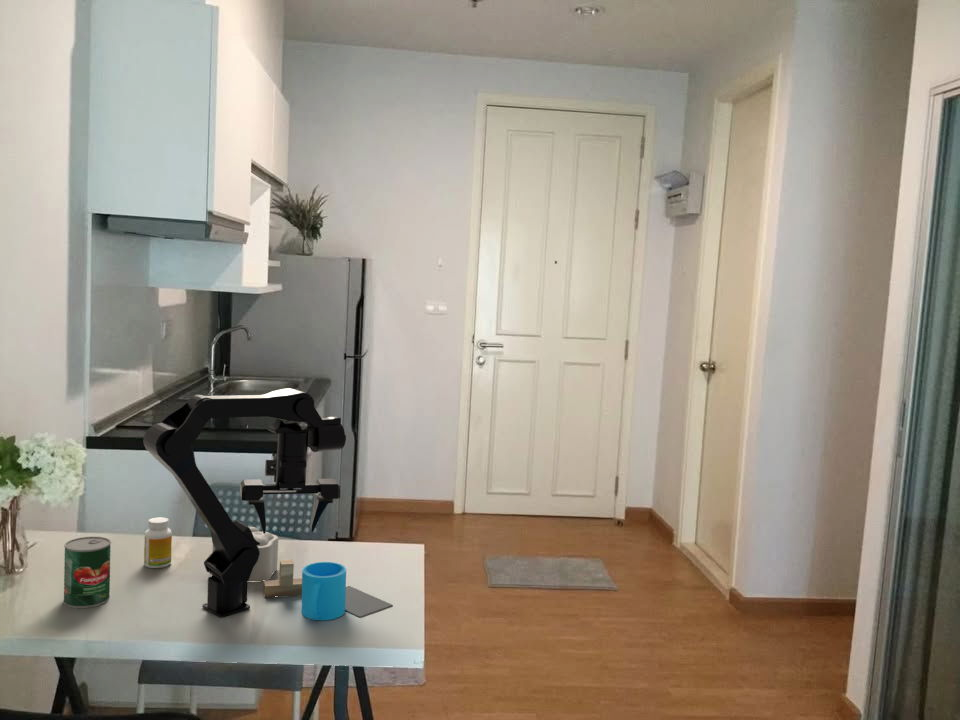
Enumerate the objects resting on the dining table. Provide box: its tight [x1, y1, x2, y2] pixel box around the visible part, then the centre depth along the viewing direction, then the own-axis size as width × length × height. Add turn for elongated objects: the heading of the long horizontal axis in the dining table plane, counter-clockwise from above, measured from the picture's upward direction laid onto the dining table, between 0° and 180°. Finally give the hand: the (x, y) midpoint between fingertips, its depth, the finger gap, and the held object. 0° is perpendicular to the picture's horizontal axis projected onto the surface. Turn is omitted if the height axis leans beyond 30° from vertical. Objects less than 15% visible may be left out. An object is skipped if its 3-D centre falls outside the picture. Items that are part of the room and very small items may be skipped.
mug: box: [301, 561, 347, 621], centre depth 157 cm, size 12×8×8 cm
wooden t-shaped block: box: [263, 559, 302, 598], centre depth 166 cm, size 4×8×7 cm, turn 110°
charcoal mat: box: [345, 585, 393, 618], centre depth 165 cm, size 8×13×1 cm, turn 49°
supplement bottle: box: [143, 516, 173, 569], centre depth 178 cm, size 5×5×10 cm
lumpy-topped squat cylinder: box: [212, 526, 279, 582], centre depth 176 cm, size 10×13×9 cm
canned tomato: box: [63, 536, 112, 609], centre depth 157 cm, size 8×8×11 cm
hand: (288, 532), depth 165 cm, fingers open, 9 cm apart
